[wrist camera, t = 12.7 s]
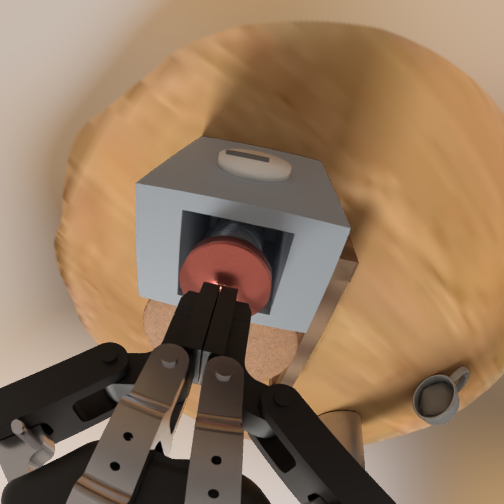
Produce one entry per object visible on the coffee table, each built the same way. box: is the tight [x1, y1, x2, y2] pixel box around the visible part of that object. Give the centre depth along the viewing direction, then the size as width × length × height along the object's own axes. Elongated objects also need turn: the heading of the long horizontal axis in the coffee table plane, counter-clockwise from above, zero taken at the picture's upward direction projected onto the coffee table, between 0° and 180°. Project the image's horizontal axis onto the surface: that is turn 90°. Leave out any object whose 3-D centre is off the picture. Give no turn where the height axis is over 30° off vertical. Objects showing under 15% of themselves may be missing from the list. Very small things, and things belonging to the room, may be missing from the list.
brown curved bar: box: [269, 235, 359, 387], centre depth 31 cm, size 24×2×4 cm, turn 169°
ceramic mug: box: [413, 366, 470, 425], centre depth 35 cm, size 11×8×8 cm
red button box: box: [135, 136, 351, 333], centre depth 19 cm, size 8×10×12 cm
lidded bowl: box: [143, 299, 298, 382], centre depth 25 cm, size 13×13×11 cm
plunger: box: [179, 217, 272, 316], centre depth 16 cm, size 4×4×6 cm
